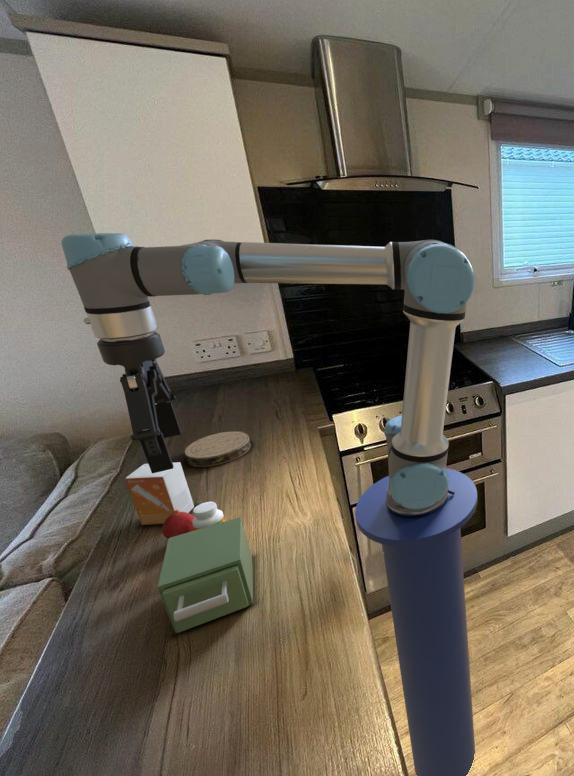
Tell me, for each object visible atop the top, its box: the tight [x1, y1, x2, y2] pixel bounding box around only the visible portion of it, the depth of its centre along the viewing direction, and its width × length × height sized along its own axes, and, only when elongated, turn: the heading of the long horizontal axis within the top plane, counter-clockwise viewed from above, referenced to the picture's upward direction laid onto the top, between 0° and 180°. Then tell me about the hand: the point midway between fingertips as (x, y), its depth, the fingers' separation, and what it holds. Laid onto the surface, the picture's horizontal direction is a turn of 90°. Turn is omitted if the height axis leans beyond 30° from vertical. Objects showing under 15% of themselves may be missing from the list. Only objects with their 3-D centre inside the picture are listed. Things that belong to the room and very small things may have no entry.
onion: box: [161, 509, 195, 540], centre depth 96 cm, size 6×6×8 cm
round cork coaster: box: [184, 430, 252, 468], centre depth 132 cm, size 16×16×3 cm
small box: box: [124, 461, 195, 526], centre depth 103 cm, size 8×6×13 cm
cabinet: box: [157, 516, 254, 634], centre depth 82 cm, size 14×12×11 cm
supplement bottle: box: [192, 501, 226, 530], centre depth 95 cm, size 5×5×10 cm
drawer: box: [162, 565, 249, 634], centre depth 79 cm, size 18×10×9 cm, turn 32°
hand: (168, 451), depth 77 cm, fingers open, 13 cm apart
